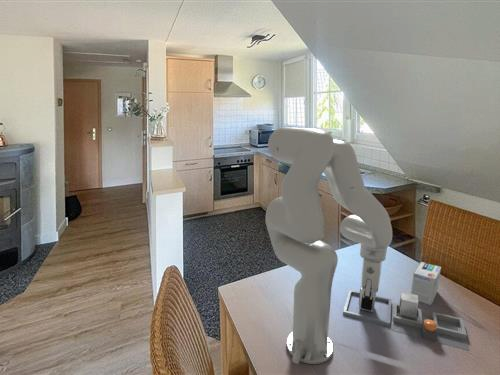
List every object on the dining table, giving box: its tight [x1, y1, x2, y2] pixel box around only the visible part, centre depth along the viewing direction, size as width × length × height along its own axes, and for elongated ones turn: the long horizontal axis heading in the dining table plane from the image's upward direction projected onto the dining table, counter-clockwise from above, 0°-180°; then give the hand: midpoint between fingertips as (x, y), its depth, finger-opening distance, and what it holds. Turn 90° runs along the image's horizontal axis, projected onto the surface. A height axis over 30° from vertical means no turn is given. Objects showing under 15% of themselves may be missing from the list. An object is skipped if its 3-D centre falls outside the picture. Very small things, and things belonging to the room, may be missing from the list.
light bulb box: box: [410, 261, 442, 306], centre depth 110 cm, size 11×7×11 cm, turn 141°
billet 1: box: [358, 286, 377, 313], centre depth 102 cm, size 4×5×7 cm
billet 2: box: [399, 291, 419, 321], centre depth 98 cm, size 4×5×7 cm
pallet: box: [391, 302, 470, 352], centre depth 95 cm, size 13×19×4 cm
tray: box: [342, 289, 393, 327], centre depth 104 cm, size 14×14×2 cm
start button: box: [424, 319, 437, 332], centre depth 90 cm, size 3×3×2 cm
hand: (366, 303), depth 103 cm, fingers closed on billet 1, 4 cm apart
